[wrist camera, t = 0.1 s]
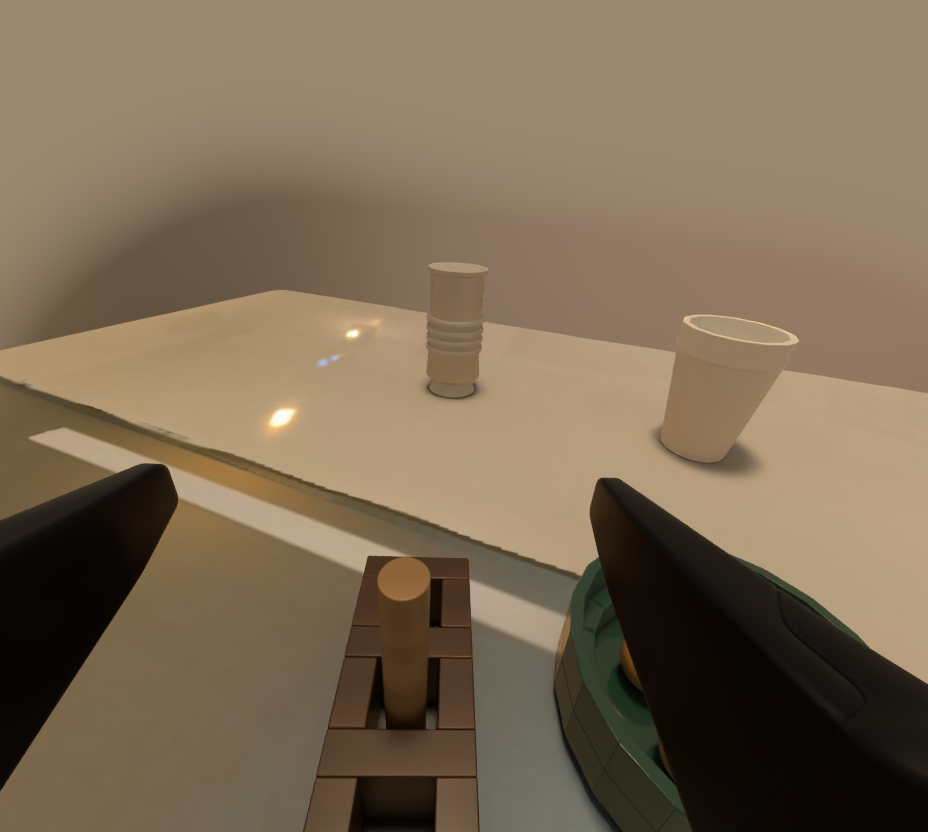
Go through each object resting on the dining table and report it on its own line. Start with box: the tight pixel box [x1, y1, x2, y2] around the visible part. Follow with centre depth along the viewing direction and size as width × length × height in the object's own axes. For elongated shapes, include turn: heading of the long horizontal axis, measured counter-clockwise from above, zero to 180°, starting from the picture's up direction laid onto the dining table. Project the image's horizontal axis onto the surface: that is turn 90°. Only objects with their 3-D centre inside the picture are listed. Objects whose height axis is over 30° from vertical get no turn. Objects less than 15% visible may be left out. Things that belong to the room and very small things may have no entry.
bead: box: [620, 640, 643, 692], centre depth 21 cm, size 3×3×3 cm
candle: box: [426, 262, 488, 398], centre depth 50 cm, size 7×7×15 cm
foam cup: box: [661, 315, 799, 463], centre depth 41 cm, size 10×9×13 cm
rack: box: [303, 556, 480, 832], centre depth 18 cm, size 14×6×4 cm, turn 1°
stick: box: [377, 557, 431, 730], centre depth 16 cm, size 2×2×11 cm
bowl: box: [554, 554, 868, 832], centre depth 20 cm, size 14×14×5 cm
